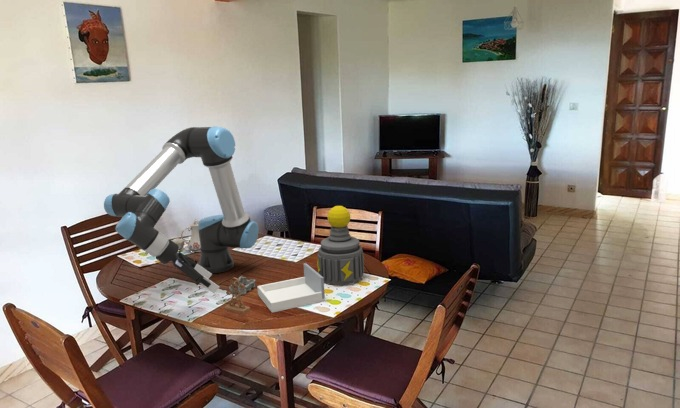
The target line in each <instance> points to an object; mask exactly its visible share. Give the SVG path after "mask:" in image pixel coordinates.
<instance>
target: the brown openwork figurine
mask: <svg viewBox="0 0 680 408" xmlns="http://www.w3.org/2000/svg"><path fill="white" fill-rule="evenodd" d="M233 279H234V280H233ZM234 283H238V284H236V285H235V284H234ZM239 284H240V283H239V280H238V278H237V277H231V279H230V285H229V286H228V287H227V288H226V293H227V295H228V296H230V295H231V299H230V301H229V303H228V304H226V306H224V307H223V308H224V310H225V311H229V312H230V311H231V312H234V313H239V314H245V313H246V314H247V312H248V311H250V310H251V307H250V306H247V305H245V303H244V301H243V300H242V298H241V295H240V293H241V292H243V291H244V289H245V284H240V285H239ZM231 285H232V286H231ZM237 285H238V286H239V287H238V286H237ZM241 285H242V286H243V287H242V286H241ZM236 286H237V287H236ZM229 287H233V289H235V292H236V293H235V294H234V290H232V291H230V288H229ZM238 288H242V289H243V290H242V291H241V292H240V291H239V292H238V293H237V290H238ZM234 298H236V299H235V300H234V302H233V299H234ZM239 301H240V302H239Z"/></svg>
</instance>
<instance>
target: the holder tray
mask: <svg viewBox="0 0 680 408" xmlns="http://www.w3.org/2000/svg"><path fill="white" fill-rule="evenodd" d="M256 288H257V289H256V290H257V296H258V297H259V298H260V300H261V301H262V302H263V304H264V305H265V306H266V307H267V309H268V310H269V311H270V312H271V313H277V312H282V311H285V310H290V309H291V310H292V309H295V308H299V307H304V306H309V305H313V304H317V303H321V302H325V301H326V297H325V283H324V277H322V276H321V275H320V274H319V273H318V271H316V270H315V269H314V268H313V267H311V266H310V265H309V264H307V262H305V263H303V276H302V277H301V276H300V277H297V278H291V279H286V280H281V281H276V282H271V283H265V284H262V285H260V284H259V285H257V286H256Z"/></svg>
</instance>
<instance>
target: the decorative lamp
mask: <svg viewBox="0 0 680 408" xmlns="http://www.w3.org/2000/svg"><path fill="white" fill-rule="evenodd" d="M327 221H328V223H329V225H330V226H331V227H330V231H329V235H328V237H326V238H323V239H322V240H320V246H319V248H318V252H317V261H316V266H317V273H319V274H320V275H321V276H322V277H324V284H327V285H332V286H347V285H348V286H349V285H353V284H355V283H358V282H360V281H361V280H362V279H363V277H364V273H365V266H364V265H365V264H364V263H365V255H364V251H363V247H362V246H361V244H360V240H359V238H357V237H355V236H352V235H351V234H350V230H349V226H348V225H349V223H350V221H351V213H350V211H349V210H348V209H347V208H346V207H344V206H343V205H335V206H333V207H331V208H330V209H329V210H328V214H327Z"/></svg>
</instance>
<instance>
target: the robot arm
mask: <svg viewBox="0 0 680 408" xmlns="http://www.w3.org/2000/svg"><path fill="white" fill-rule="evenodd" d="M235 152H236V141H235V138H234V136H233V134H232V132H231V131H230V130H229V129H227V128H225V127H223V126H221V127H220V126H205V127H204V126H203V127H202V126H198V127H197V126H192V127H188V128H185V129H182V130H180V131H179V132H177V133H175V135H174V136H172V137H171V138H169V139H168V140H167V141H166V142H165V143H164V144H163V145H162V150H161V151H160V152H159V153H158V154H157V155H155V157H154V158H153V159H152V160H151V161H150V162H149V163H148V164H147V165H146V166H145V167H144V168H143V169H142V170H141V171H140V172H139V173H138V174H136V176H135V177H134V178H133V179H132V180H131V181H130V182H129V183H128V184H127V185H126V186H125V187H123V189H122V190H121V191H120V192H119V193H111V194H109V195H107V196H106V197H105V199H104V201H103V208H104V211H105V213H106V214H107V215H109V216H111V217H117V218H121V219H120V220H119V221H118V223H116V226H115V231H116V232H117V233H118V234H119V235H120V236H121V237H123V238H124V239H125V240H127V241H128V242H130V243H132V244H134V245H135V246H137V247H138V248H139V249H141V250H142V251H144V254H145V255H148V254H149V255H150V257H151V256H152V257H153V258H155V259H156V260H157V261H159V262H160V263H161V264H164V265H166V264H167V265H168V263H169V262H172V264H173V266H174V267H175V268H177V269H178V270H180V271H181V272H182V273H183V274H184V275H186V276H187V277H188V278H189V279H191V280H192V281H193V282H195V285H196V286H198V285H201V286H202V287H203V288H205V289H207V290H208V291H210V292H211V293H213V294H216V292H217V291H218V290H219V289H220V286H219V285H218V284H216V283H215V282H214V281H212V280H211V279H210V277H212V275H213V274H219V273H224V272H227V271H229V270H231V269H233V268H234V265H235V263H234V259H233V257H232V255H231V252H230V250H229V248H234V249H235V248H236V249H242V250H243V249H251V248H252V247H254V245H255V244H256V243H257V240H258V237H259V231H260V229H259V225H258V223H257V222H256V221H254V220H251V218H250V215H249V213H247V212H245V208H244V206H243V203H242V200H241V196H240V193H239V189H238V185H237V183H236V178H235V175H234V171H233V168H232V164H231V161H232V160H233V155H234V154H235ZM190 158H192V159H193V158H200V159H201V162H202V165H203V166H204V167H206V168H208V171H209V174H210V176H211V179H212V180H211V181H212V184H213V186H214V190H215V193H216V196H217V199H218V202H219V205H220V210H221V213H222V214H216V215H210V216H207V217H204V218H201V219H200V220H198V221H199V223H198V226H199V229H198V230H199V238H200V246H201V253H200V257H199V259H198V260H199V262H198V260H197V259H195V260H194V259H192V258H191V257H189V256H188V255H186V254H183V253H182V252H181V251H180V252H179V251H178V249H179V246H178V245H177V244H176V243H174V242H173V241H171V240H172V239H169V237H167V236H166V235H164V233H162V232H160V231H159V230H157V229H156V228H155V226H156V225H157V223H158V222H159V220H160V219H161V218H162V216H163V215H164V213H165V212H166V210H167V208H168V206H169V204H170V202H171V200H170V197H169V196H168V194H167V193H166V192H164V191H163V190H161V189H158V188H157V187H158V186H159V185H160V184H161V183H162V182H163V180H165V178H166V177H167V176H168V175H169V174H170V173H172V171H173V170H174V169H175V168H176V167H177V165H180V164H183V163H184V162H185V161H186V160H188V159H190Z"/></svg>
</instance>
